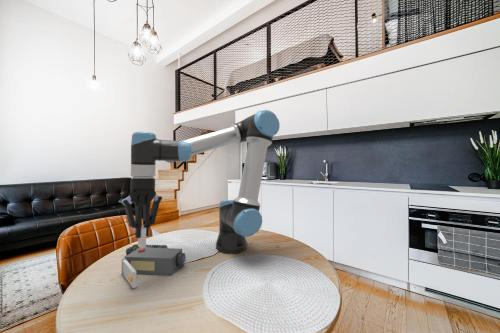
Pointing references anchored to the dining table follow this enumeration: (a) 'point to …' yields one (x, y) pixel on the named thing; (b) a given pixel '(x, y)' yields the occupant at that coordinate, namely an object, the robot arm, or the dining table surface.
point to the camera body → (156, 260)
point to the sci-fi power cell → (135, 246)
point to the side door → (129, 273)
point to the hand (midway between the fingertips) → (141, 246)
